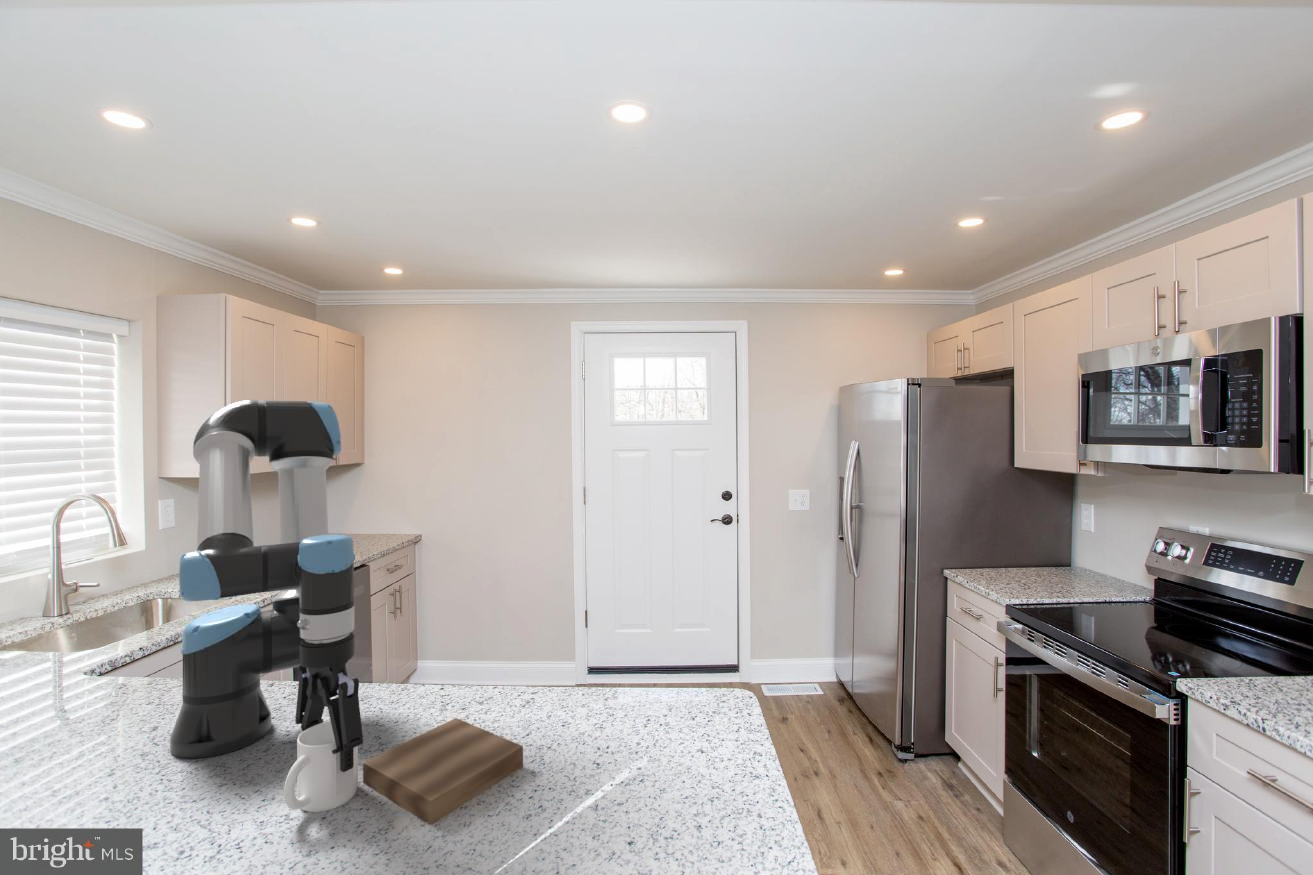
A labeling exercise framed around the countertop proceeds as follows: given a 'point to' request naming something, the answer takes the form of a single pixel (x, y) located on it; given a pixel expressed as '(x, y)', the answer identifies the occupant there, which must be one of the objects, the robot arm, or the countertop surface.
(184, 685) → the robot arm
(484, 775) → the walnut block
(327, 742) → the mug
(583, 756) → the countertop surface
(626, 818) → the countertop surface
